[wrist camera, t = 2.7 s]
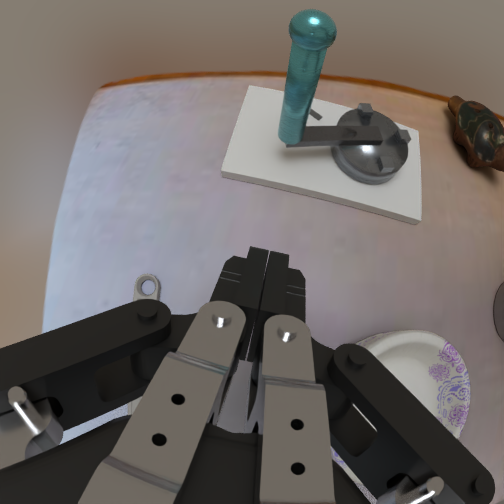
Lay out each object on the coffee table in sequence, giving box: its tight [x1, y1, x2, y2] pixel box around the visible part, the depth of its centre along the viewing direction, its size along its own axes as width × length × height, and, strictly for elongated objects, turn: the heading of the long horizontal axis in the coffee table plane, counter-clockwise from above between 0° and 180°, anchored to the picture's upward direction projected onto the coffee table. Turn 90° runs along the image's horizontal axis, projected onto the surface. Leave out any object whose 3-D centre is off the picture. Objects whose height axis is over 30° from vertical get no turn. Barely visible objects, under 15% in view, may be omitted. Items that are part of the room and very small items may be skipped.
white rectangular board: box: [221, 85, 421, 225], centre depth 36 cm, size 24×14×2 cm, turn 77°
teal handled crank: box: [278, 9, 411, 184], centre depth 26 cm, size 16×9×19 cm, turn 97°
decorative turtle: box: [448, 96, 504, 172], centre depth 35 cm, size 10×15×8 cm, turn 26°
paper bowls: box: [331, 330, 471, 485], centre depth 25 cm, size 15×15×8 cm
